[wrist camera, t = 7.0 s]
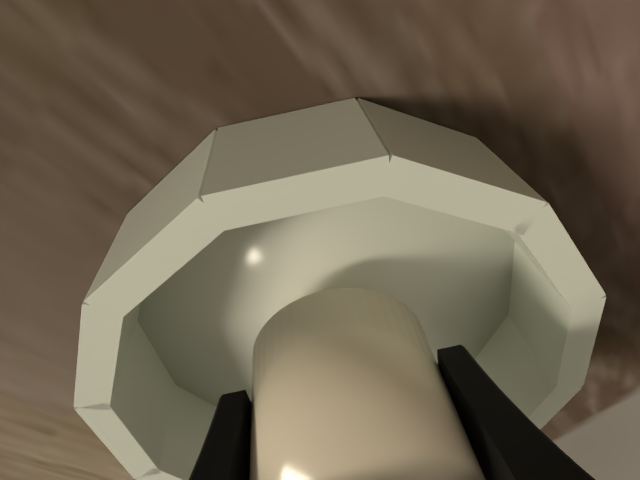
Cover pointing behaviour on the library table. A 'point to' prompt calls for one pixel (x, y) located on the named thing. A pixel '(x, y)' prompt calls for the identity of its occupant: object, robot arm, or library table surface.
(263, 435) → the marshmallow
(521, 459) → the robot arm
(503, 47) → the library table surface
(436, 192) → the bowl
